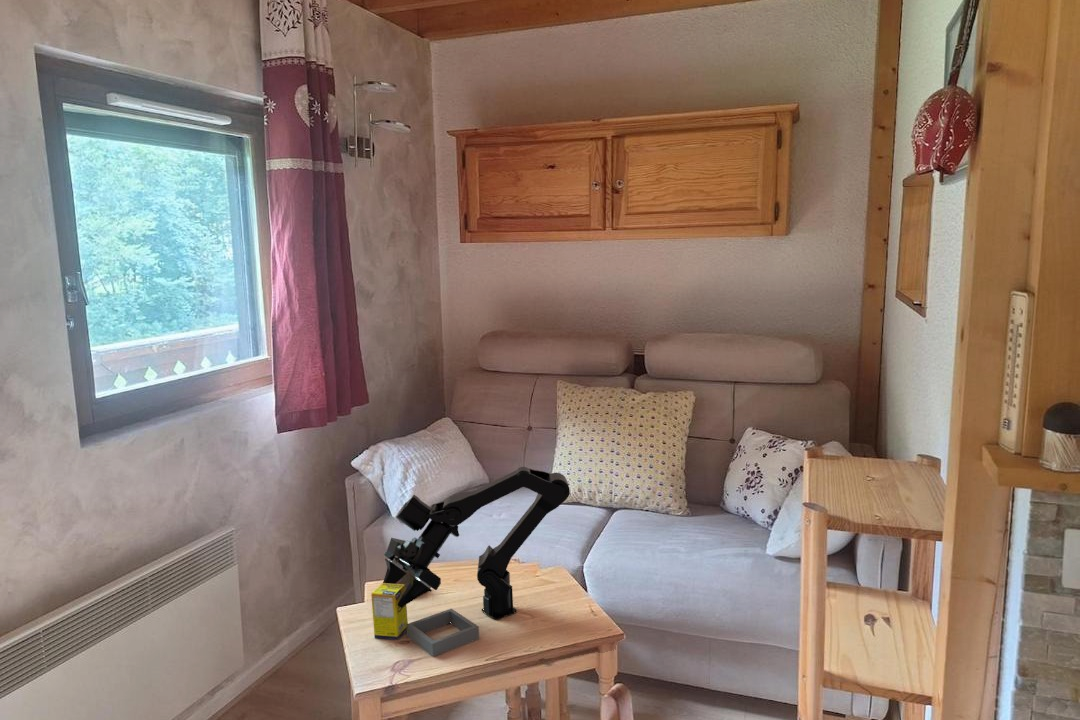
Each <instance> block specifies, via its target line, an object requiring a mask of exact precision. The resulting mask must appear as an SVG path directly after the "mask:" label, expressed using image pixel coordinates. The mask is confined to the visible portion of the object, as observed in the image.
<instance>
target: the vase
mask: <svg viewBox="0 0 1080 720" xmlns="http://www.w3.org/2000/svg"><path fill="white" fill-rule="evenodd" d="M402 570H403V571H404V572H406V575H404V576H403V577H402V578H401V579H400V580H399V581H398V582H397V583H396V584H404V585H405V590H406V589H407V587H408V585H409V583H410V575H412V576H413V577H415V578H416V576H415V575H413V572H412V571H410V570H404V569H403V568H402Z"/></svg>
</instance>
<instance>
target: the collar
mask: <svg viewBox="0 0 1080 720" xmlns="http://www.w3.org/2000/svg"><path fill="white" fill-rule="evenodd" d="M450 622H451V623H452V624H451V623H450ZM448 623H450V624H451V625H453V626H454V627H456V628H457V629H458V631H456V632H454V633H450V634H448V635H446V636H443V637H440V638H438V639H432V638H431V637H430V636H428V635H427V634H425V633H427V632H430V631H432V630H436V629H439V628H441V627H444V626H446V625H445V624H447V625H449V624H448ZM443 625H444V626H443ZM406 626H407V629H406V636H407V638H409V639H410V641H412V642H414V643H415V644H416V645H417V646H419V647H420V648H421V649H422V650H424V651H425V652H426V653H427V654H428V655H430V656H431V657H432V658H433V657H437V656H439V655H441V654H444V653H447V652H449V651H452V650H455V649H457V648H460V647H462V646H465V645H467V644H470V643H473V642H475V641H478V640H480V627H479V626H478V625H477V624H476V623H474V622H473V621H471V620H469V619H468V618H467V617H465V616H464V615H462V614H460V613H459V612H458V611H456V610H454V609H453V608H449V609H448V608H447V609H446V610H443V611H440V612H437V613H434V614H432V615H429V616H425V617H424V618H421V619H417V620H415V621H412V622H409V623H408V624H406ZM438 627H439V628H438ZM435 628H436V629H435Z"/></svg>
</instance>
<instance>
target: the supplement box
mask: <svg viewBox="0 0 1080 720" xmlns="http://www.w3.org/2000/svg"><path fill="white" fill-rule="evenodd" d="M404 592H405V585H404V584H388V583H383V582H382V583H381V584H380V585H379V586H377V588H375V589H374V590H373V591H372V593H371V607H372V621H373V622H372V623H373V634H374V639H385V640H395V641H396V640H399V639H400V638H401V637H402V636H403V634H404V633H405V632H407V626H406V624H409V623H408V610H407V609H408V608H407V604H406V605H405V606H403V607H399V606H398V603H399V601H400V599H401V597H402V595H403V594H404Z"/></svg>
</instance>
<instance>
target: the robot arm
mask: <svg viewBox="0 0 1080 720" xmlns="http://www.w3.org/2000/svg"><path fill="white" fill-rule="evenodd" d="M521 488H525V489H528V490H530V491H532V492H534V493H536V494H537V495H536V497H535V500H534V501H533V502H532V504H531V505H530V506H529V507H528V509H526V511H525V512H524V514H523V515H521V517H520V519H519V520H518V521H517V522H516V523H515V525H514V526H513V527H512V528H511V530H509V532H508V533H507V535H505V537H504V539H502V541H501V542H500V543H499V544H498V545H497V546H495V547H494V548H493V547H492V546H490V544H488V546H487V547H486V549H485V550H484V552H483V553H482V554H481V555H479V557H478V563H477V573H476V577H477V578H476V579H477V581H478V584H480V585H481V586H483V587H484V589H483V592H484V593H483V596H482V604H483V605H482V606H483V608H481V612H482V611H484V612H485V613H486V614H485V613H484V612H483V613H484V614H485V615H487V616H488V615H489V617H490V618H491V619H493V620H495V621H496V620H500V619H502V618H505V617H507V616H511V615H513V614H515V613H517V612H518V609H516V608H515V607H514V595H513V585H512V584H511V582H510V581H511V575H510V571H508V570H507V569H508V566H509V564H510V562H511V559H512V558H513V556H515V554H516V553H517V551H518V550H519V549H520V548H521V546H523V545H524V543H525V542H526V540H527V539H528V538H529V537H530V536H531V534H532V533H533V532H534V531H535V529H536V528H537V527H538V525H539V524H540V523H541V522H542V520H544V518H545V517H546V516H547V515H548V514H549V513H550V512H552V511H554V510H556V509H557V508H559V506H561V505H562V504H564V502H565V501H566V500H567V499H568V498H569V496H570V494H571V493H570V491H571V490H570V486H569V483H568V479H567V478H566V476H565V475H564V474H562V473H560V472H551V473H550V472H547V471H543V470H538V469H532V468H530V467H526V466H519V467H518V468H517V469H516V470H514V471H512V472H510V473H508V474H505V475H504V476H501V477H499V478H498V479H496V480H494V481H492V482H489V483H488V484H485V485H482V486H481V487H479V488H477V489H475V490H472V491H464V492H459V493H457V494H456V493H455V494H453V495H450V496H448V497H447V498H446V499H445V500H444V501H439V502H436V503H432V504H431V505H428V504H426V503H425V502H424V501H422V500H421V499H420V498H419V497H418V496H417V495H415V494H413V495H412V496H411V497H410V498H409V499H408V501H406V502H404V504H403V505H402V507H401V508H400V510H398V513H397V514H396V515H395V519H397V521H400V522H401V523H402V524H403V525H406V526H407V528H409V529H411V530H412V531H414V532H415V531H417V532H418V531H421V530H423V529H424V530H423V531H422V532H421V534H420V535H419V537H418V538H417V537H413V538H412V539H411V540H404V539H400V538H399V539H398V538H394V537H391V538H390V540H389V544H388V547H387V549H386V552H385V553H383V555H384V557H385V559H384V560H385V562H386V571H385V575H384V578H383V581H382V583H388V584H396V583H397V582H398V581H399V580H400V579H401V578H402V577H403V576H404V575H406V572H404V571H403V570H402V568H403V569H404V570H410V571H412V572H413V575H415V576H416V578H415V577H413V576H412V575H410V583H409V585H408V587H407V589H406V590H405V592H404V594H403V595H402V597H401V599H400V601H399V603H398V606H399V607H403V606H405V605H406V606H407V605H408V604H410V603H411V602H413V601H414V600H416V599H418V598H420V597H421V596H423V595H425V594H427V593H432V592H433V590H435V591H437V590H438V589H439V587H440V586H441V584H442V579H441V577H439V575H437V574H436V573H434V572H433V571H431V569H430V568H428V567H429V566H430V564H431V563H432V561H433V560H434V559H435V558H436V559H439V557H440V556H441V554H440V553H439V551H440V550H441V549H442V547H443V546H444V544H445V543H446V541H447V539H448V538H449V537H450V535H452V536H453V537H456V538H458V537H459V536H460V533H459V525H461V524H463V523H464V522H465V521H466V520H467V519H469V518H470V517H471V516H472V515H474V514H475V513H476V512H477V511H478V510H480V509H481V508H483V507H484V506H485V507H486V505H489V504H491V503H494V502H495V501H498V500H500V499H501V498H503V497H505V496H508V495H509V494H512V493H514V492H516V491H518V490H519V489H521ZM429 520H430V522H429ZM428 522H429V523H428ZM427 523H428V524H427ZM425 526H426V527H425ZM424 527H425V528H424ZM431 588H432V589H433V590H432V589H431ZM483 609H484V610H483Z"/></svg>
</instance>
